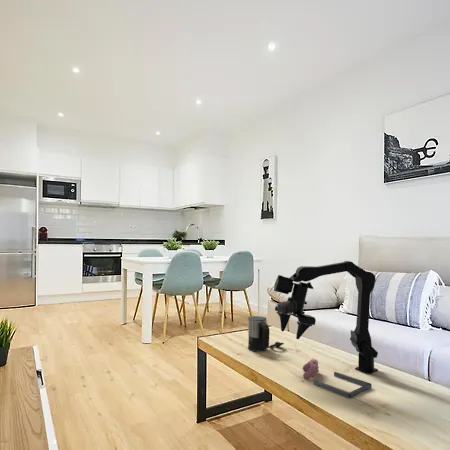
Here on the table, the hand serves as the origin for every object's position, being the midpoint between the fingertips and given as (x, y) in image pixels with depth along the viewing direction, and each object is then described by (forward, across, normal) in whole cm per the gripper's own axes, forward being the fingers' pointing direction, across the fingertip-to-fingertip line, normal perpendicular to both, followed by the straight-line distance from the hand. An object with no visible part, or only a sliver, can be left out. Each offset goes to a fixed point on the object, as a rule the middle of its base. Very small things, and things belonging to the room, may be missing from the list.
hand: (289, 335), depth 140 cm
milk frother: (+15, -26, +12) cm, 32 cm away
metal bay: (+10, +22, +8) cm, 26 cm away
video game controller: (+12, +9, +6) cm, 17 cm away
